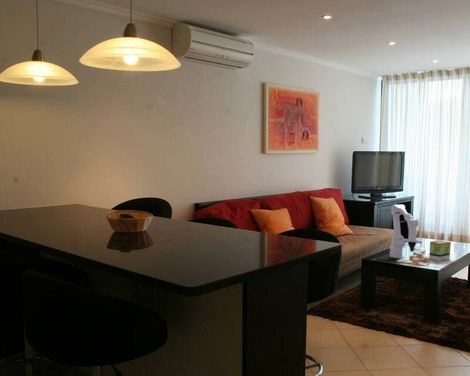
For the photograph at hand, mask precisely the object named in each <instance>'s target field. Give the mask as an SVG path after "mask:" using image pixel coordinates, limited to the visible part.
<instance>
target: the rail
mask: <svg viewBox="0 0 470 376" xmlns="http://www.w3.org/2000/svg"><path fill="white" fill-rule="evenodd" d="M396 261H397V263H402V264H408V265H415V266H420V267H427V266H429V265H430V263H423V262H419V263H412V261H410V260H408V259H403V258H399V259H398V260H396Z"/></svg>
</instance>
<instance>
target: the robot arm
mask: <svg viewBox="0 0 470 376" xmlns="http://www.w3.org/2000/svg"><path fill="white" fill-rule="evenodd" d="M390 212H391V215H392V221H393V234H394V235H393V236H392V237H391V239H390V240H391V241H390V244H391V246H390V248H389V258H394V259H403V258H404V256H403V247H404V246H405V244H406V243H407V245H408V247H409V250H410V252H411V253H413V252H414V249H415V247H416V245H417V244H423V241H422V240H419V239H417V232H418V231H417V227H418V226H419V220H418V218H415V217H414V216H412V214H411V213H408V212H407V209H406V205H405V204H392V205H391V207H390ZM401 215H403V218H404V220H405V222H406V223H407V229H408V238H404V236H403V235H402V233H401V231H402V230H401V222H400V216H401Z"/></svg>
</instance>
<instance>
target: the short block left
mask: <svg viewBox="0 0 470 376" xmlns="http://www.w3.org/2000/svg"><path fill="white" fill-rule="evenodd" d="M413 258H416V254H415V255H414V254H411V255H409V260H410V261H412V259H413Z"/></svg>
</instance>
